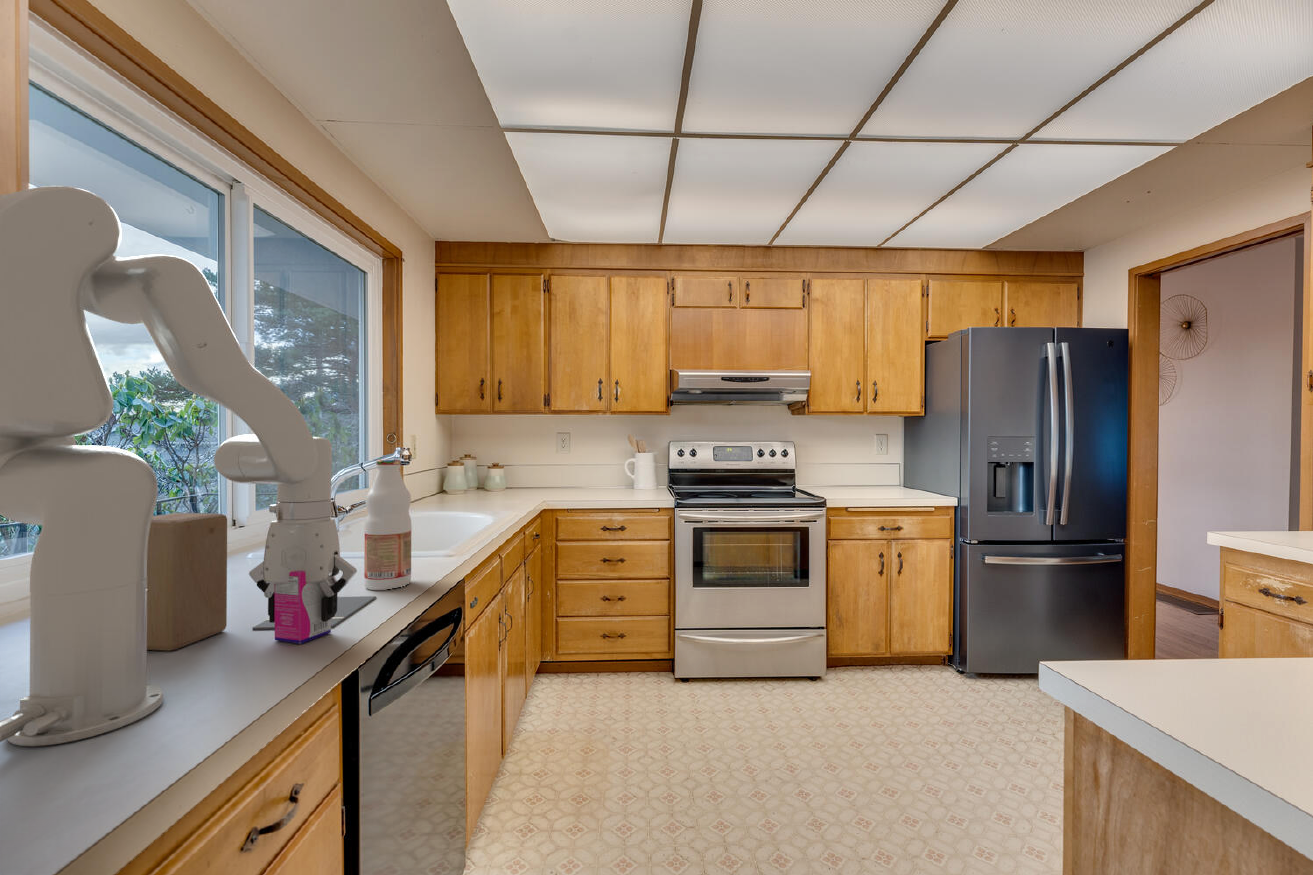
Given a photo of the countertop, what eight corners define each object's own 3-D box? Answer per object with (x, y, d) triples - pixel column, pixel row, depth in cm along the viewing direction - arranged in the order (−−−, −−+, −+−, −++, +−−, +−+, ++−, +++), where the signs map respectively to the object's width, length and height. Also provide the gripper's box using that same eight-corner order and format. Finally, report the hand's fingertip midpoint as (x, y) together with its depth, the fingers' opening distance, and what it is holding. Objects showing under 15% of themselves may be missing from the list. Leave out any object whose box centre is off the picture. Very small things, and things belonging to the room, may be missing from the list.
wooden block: (229, 630, 94) (230, 512, 94) (172, 653, 84) (173, 521, 84) (176, 628, 95) (176, 511, 95) (113, 650, 85) (114, 520, 85)
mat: (332, 627, 95) (332, 624, 95) (252, 629, 94) (252, 626, 94) (376, 598, 113) (376, 595, 113) (309, 599, 112) (309, 597, 112)
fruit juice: (374, 593, 116) (375, 460, 116) (357, 585, 122) (357, 459, 123) (418, 585, 123) (419, 459, 123) (400, 578, 130) (400, 458, 130)
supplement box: (305, 629, 94) (306, 561, 94) (331, 633, 92) (332, 564, 93) (272, 640, 89) (273, 569, 89) (299, 644, 87) (301, 571, 87)
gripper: (232, 514, 86) (231, 628, 86) (348, 514, 88) (347, 625, 88) (262, 509, 94) (261, 613, 94) (369, 508, 95) (368, 611, 95)
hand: (302, 618), depth 91 cm, fingers closed on supplement box, 7 cm apart
